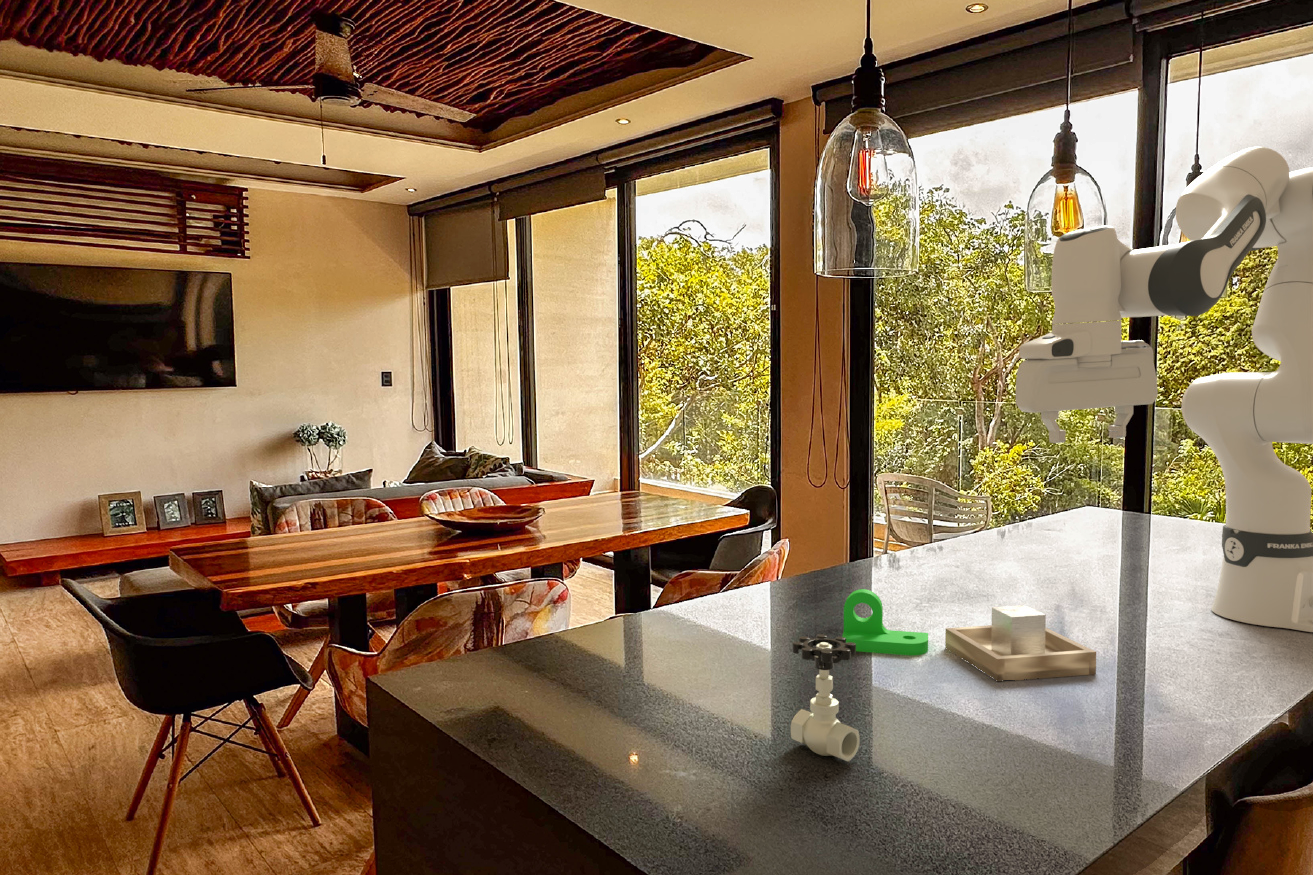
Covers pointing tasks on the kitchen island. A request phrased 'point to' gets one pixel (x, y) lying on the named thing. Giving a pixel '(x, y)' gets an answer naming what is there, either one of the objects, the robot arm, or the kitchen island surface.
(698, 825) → the kitchen island surface
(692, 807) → the kitchen island surface
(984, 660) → the tray
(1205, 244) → the robot arm
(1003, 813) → the kitchen island surface
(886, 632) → the mechanical part
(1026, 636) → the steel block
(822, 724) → the valve
